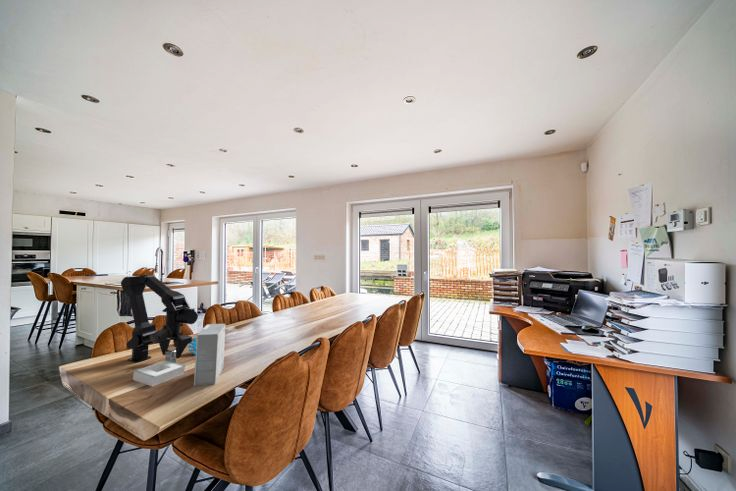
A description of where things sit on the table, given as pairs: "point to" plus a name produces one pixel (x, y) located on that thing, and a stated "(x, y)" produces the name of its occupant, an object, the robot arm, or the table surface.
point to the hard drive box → (209, 354)
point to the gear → (193, 346)
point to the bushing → (171, 355)
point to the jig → (158, 372)
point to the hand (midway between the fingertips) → (170, 356)
